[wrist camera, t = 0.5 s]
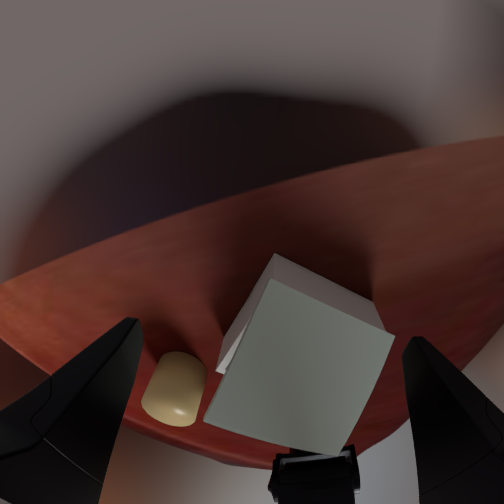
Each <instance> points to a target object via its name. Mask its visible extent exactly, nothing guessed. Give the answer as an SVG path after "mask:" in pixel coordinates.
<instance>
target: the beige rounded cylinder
mask: <svg viewBox="0 0 504 504" xmlns="http://www.w3.org/2000/svg"><path fill="white" fill-rule="evenodd" d="M206 378H207V370H206V367H205V366H204V364H203V363H202V362H201V361H200V360H198V359H197V358H195V357H194V356H192V355H190V354H187V353H183V352H177V351H174V352H168V353H165V354H164V355H162V357H161V358H160V360H159V362H158V364H157V367H156V369H155V371H154V373H153V375H152V378H151V380H150V382H149V384H148V387H147V389H146V391H145V393H144V396H143V398H142V401H141V403H142V406H143V408H144V410H145V411H146V412H147V413H148V414H149V415H150V416H152V417H153V418H155V419H156V420H158V421H160V422H163V423H165V424H168V425H173V426H188V425H191V424H193V423H194V422H195V419H196V416H197V412H198V408H199V404H200V401H201V397H202V393H203V389H204V386H205V382H206Z"/></svg>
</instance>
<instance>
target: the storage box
mask: <svg viewBox="0 0 504 504" xmlns="http://www.w3.org/2000/svg"><path fill="white" fill-rule="evenodd" d="M268 278H271V279H273V280H275V281H278V282H280V283H282V284H284V285H286V286H288V287H290V288H292V289H294V290H297V291H299V292H301V293H303V294H305V295H307V296H309V297H311V298H314V299H316V300H318V301H320V302H322V303H324V304H326V305H329V306H331V307H333V308H335V309H337V310H339V311H342V312H344V313H346V314H348V315H350V316H352V317H355V318H357V319H359V320H361V321H363V322H365V323H368V324H370V325H372V326H374V327H376V328H379V329H381V330H383V331H385V328H384V326H383V324H382V322H381V319H380V317H379V315H378V313H377V310H376V308H375V306H374V304H373V302H372V301H370V300H368V299H366V298H364V297H362V296H360V295H358V294H356V293H354V292H352V291H350V290H348V289H346V288H344V287H342V286H340V285H338V284H336V283H334V282H332V281H330V280H328V279H326V278H324V277H322V276H320V275H318V274H316V273H314V272H312V271H310V270H308V269H306V268H304V267H302V266H300V265H298V264H296V263H294V262H292V261H290V260H288V259H286V258H284V257H282V256H280V255H278V254H276V253H274V254H273V256H272V258H271V260H270V261H269V263H268V265H267V266H266V268H265V270H264V271H263V273H262V275H261V276H260V278H259V280H258V282H257V283H256V285H255V287H254V288H253V290H252V292H251V293H250V295H249V297H248V298H247V300H246V302H245V303H244V305H243V307H242V308H241V310H240V312H239V313H238V315H237V317H236V318H235V320H234V322H233V323H232V325H231V326H230V328H229V330H228V331H227V333H226V335H225V336H224V339H223V343H222V347H221V351H220V355H219V359H218V363H217V367H216V371H217V372H220V373H222V374H225V372H226V370H227V367H228V365H229V363H230V361H231V359H232V357H233V355H234V352H235V350H236V348H237V346H238V344H239V342H240V340H241V337H242V335H243V333H244V331H245V329H246V327H247V324H248V322H249V320H250V318H251V316H252V313H253V311H254V309H255V307H256V305H257V302H258V300H259V298H260V296H261V293H262V291H263V289H264V287H265V284H266V282H267V280H268ZM385 332H386V331H385Z"/></svg>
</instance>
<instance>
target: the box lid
mask: <svg viewBox="0 0 504 504" xmlns="http://www.w3.org/2000/svg"><path fill="white" fill-rule="evenodd" d="M394 338H395V336H394V335H392V334H390V333H387V332H385V331H383V330H381V329H379V328H376V327H374V326H372V325H370V324H368V323H365V322H363V321H361V320H359V319H357V318H355V317H352V316H350V315H348V314H346V313H344V312H342V311H339V310H337V309H335V308H333V307H331V306H329V305H326V304H324V303H322V302H320V301H318V300H316V299H314V298H311V297H309V296H307V295H305V294H303V293H301V292H299V291H297V290H294V289H292V288H290V287H288V286H286V285H284V284H282V283H280V282H278V281H275V280H273V279H271V278H268V280H267V282H266V284H265V287H264V289H263V291H262V293H261V296H260V298H259V300H258V302H257V305H256V307H255V309H254V311H253V313H252V316H251V318H250V320H249V322H248V324H247V327H246V329H245V331H244V333H243V335H242V337H241V340H240V342H239V344H238V346H237V348H236V350H235V352H234V355H233V357H232V359H231V361H230V363H229V365H228V367H227V370H226V372H225V374H224V376H223V378H222V380H221V382H220V384H219V386H218V389H217V391H216V393H215V395H214V397H213V399H212V401H211V403H210V405H209V407H208V409H207V411H206V413H205V415H204V418H203V421H204V422H206V423H209V424H211V425H214V426H217V427H220V428H223V429H226V430H229V431H232V432H235V433H239V434H242V435H245V436H249V437H252V438H256V439H259V440H263V441H266V442H270V443H274V444H278V445H282V446H287V447H291V448H295V449H300V450H305V451H310V452H315V453H321V454H326V455H332V456H338V455H339V453H340V451H341V450H342V448H343V446H344V444H345V443H346V441H347V439H348V437H349V436H350V434H351V432H352V430H353V428H354V426H355V424H356V423H357V421H358V419H359V417H360V415H361V413H362V411H363V409H364V407H365V405H366V403H367V401H368V399H369V397H370V394H371V392H372V390H373V388H374V386H375V384H376V381H377V379H378V377H379V375H380V372H381V370H382V368H383V365H384V363H385V361H386V358H387V356H388V353H389V351H390V348H391V345H392V343H393V340H394Z"/></svg>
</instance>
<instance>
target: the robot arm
mask: <svg viewBox="0 0 504 504" xmlns="http://www.w3.org/2000/svg"><path fill="white" fill-rule="evenodd" d="M143 342H144V336H143V332H142V328H141V324H140V321H139V319H137V318H131V317H126V318H124V319H123V320H122V321H121V322H119V323H118V324H117V325H115V326H114V327H113V328H111V329H110V330H109V331H107V332H106V333H105V334H103V335H102V336H101V337H100V338H98V339H97V340H96V341H94V342H93V343H92V344H90V345H89V346H88V347H87V348H85V349H84V350H83V351H81V352H80V353H79V354H77V355H76V356H75V357H74V358H72V359H71V360H70V361H69V362H67V363H66V364H65V365H63V366H62V367H61V368H60V369H58V370H57V371H56V372H55V373H53V374H52V377H51V376H49V377H48V378H47V379H46V380H44V381H43V382H42V383H41V384H39V385H38V386H36V387H35V388H34V389H33V390H31V391H30V392H28V393H27V394H25V395H24V396H22V397H21V398H19V399H18V400H16V401H15V402H13V403H11V404H10V405H8V406H7V407H5V408H4V409H2V410H0V504H98V503H99V498H100V494H101V490H102V487H103V485H102V484H103V482H104V479H105V475H106V471H107V468H108V464H109V461H110V457H111V454H112V450H113V447H114V443H115V440H116V437H117V433H118V430H119V427H120V424H121V421H122V418H123V415H124V411H125V408H126V405H127V402H128V399H129V396H130V393H131V391H132V388H133V384H134V381H135V377H136V373H137V368H138V364H139V359H140V355H141V351H142V346H143ZM402 364H403V373H404V383H405V393H406V399H407V405H408V410H409V416H410V422H411V428H412V434H413V440H414V449H415V457H416V465H417V475H418V486H419V503H420V504H504V413H503V412H502V411H501V410H500V409H499V408H497V407H496V406H495V405H494V404H493V403H492V402H491V401H490V400H489V399H488V398H487V397H486V396H485V395H484V394H483V393H482V392H481V391H480V390H479V389H478V388H477V387H476V386H475V385H474V384H473V383H472V382H471V381H470V380H469V379H468V378H467V377H466V376H465V375H464V374H463V373H462V372H461V371H460V370H459V369H458V368H456V367H455V366H454V365H453V364H452V363H451V362H450V361H449V360H448V359H447V358H446V357H445V356H444V355H443V354H442V353H440V352H439V351H438V350H437V349H436V348H435V347H434V346H433V345H432V344H431V343H430V342H428V341H427V340H426V339H425V338H424V337H422V336H414V337H412V338H411V339H410V340H409V342H408V344H407V346H406V347H405V349H404V351H403V353H402ZM268 490H269V491H270V492H271V493H272V496H273V499H274V502H278V504H355V498H354V494H357V493H360V475H359V468H358V462H357V457H356V452H355V447H354V444H352V445H349V446H345V447H344V446H343V448H342V450H341V451H340V453H339V455H338V456H332V455H326V454H321V453H315V452H310V451H305V450H300V449H295V448H291V447H290V453H289V454H281V453H279V454H276V459H274V460H273V469H272V475H271V478H270V481H269V484H268Z"/></svg>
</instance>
